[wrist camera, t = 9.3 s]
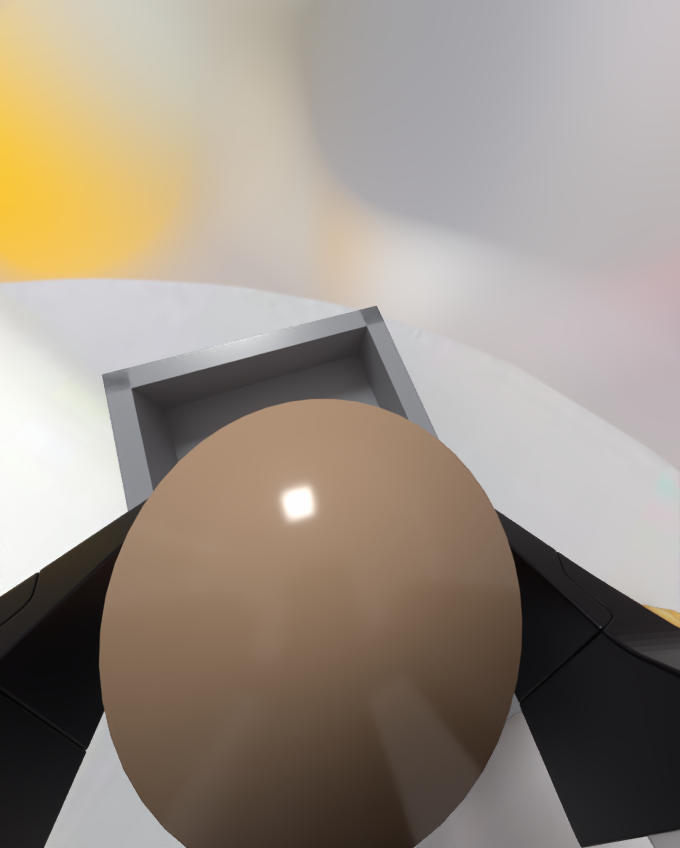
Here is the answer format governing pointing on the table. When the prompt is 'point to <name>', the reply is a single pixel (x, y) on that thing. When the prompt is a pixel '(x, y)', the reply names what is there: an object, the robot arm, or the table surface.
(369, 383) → the tray
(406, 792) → the brown tapered round piece
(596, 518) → the table surface
